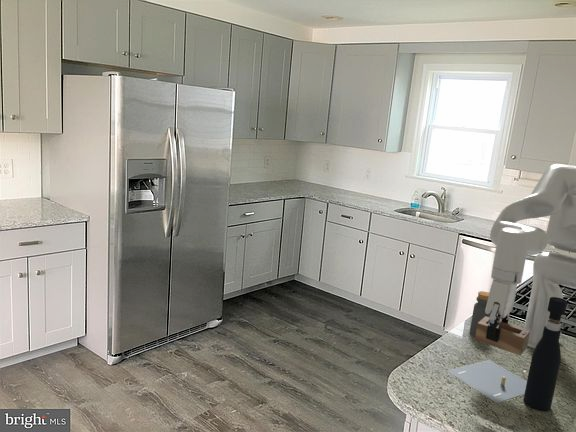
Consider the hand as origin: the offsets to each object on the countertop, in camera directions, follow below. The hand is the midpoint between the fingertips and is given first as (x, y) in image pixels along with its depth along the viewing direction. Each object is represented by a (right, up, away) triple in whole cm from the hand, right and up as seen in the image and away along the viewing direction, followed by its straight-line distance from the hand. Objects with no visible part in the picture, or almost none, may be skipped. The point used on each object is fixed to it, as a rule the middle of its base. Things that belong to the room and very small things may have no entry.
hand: (496, 335), depth 136 cm
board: (0, -14, +3) cm, 14 cm away
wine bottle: (+7, -17, -8) cm, 20 cm away
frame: (+1, -2, -1) cm, 2 cm away
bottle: (+8, -8, +34) cm, 36 cm away
